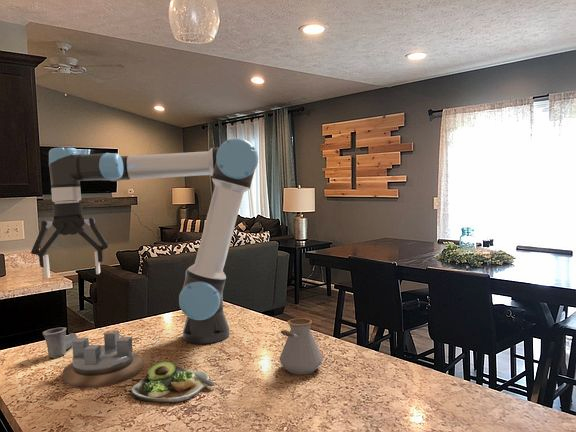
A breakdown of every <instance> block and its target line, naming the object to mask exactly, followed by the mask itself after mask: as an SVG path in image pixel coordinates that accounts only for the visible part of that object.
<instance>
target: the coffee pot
mask: <svg viewBox="0 0 576 432" xmlns="http://www.w3.org/2000/svg"><path fill="white" fill-rule="evenodd" d="M312 323H313V321H312V319H310V318H305V317H298V318H297V317H296V318H292V319H289V320H287V324H288V325H289V327H290V330H287V329H286V330H285V329H283V330H280V331H278V332H277V334H276V337H277V339H278V340H281V341H283V340H285V339H286V340H285V344H284V345H283V349H282V351H281V354H280V356H279V363H280V364H281V365H282V367H283V368H284V369H285V370H287V372H289V373H290V374H293V375H309V374H312V373H314V372H315V371H317V369H319V367H320V366H321V365H322V362H323V359H324V358H323V355H322V352H321V351H320V349H319V346H318V343H317V341H316V340H315V337H314V335H313V333H312V330H311V325H312ZM279 333H281V335H282V336H285V337H284V338H281V339H280V338H279V337H278V334H279Z"/></svg>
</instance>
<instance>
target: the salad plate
mask: <svg viewBox="0 0 576 432" xmlns="http://www.w3.org/2000/svg"><path fill="white" fill-rule="evenodd" d="M146 372H147V373H146V377H144V378H143V379H142V380H140V381H138V383H135V384H134V385H133V386H132V387H131V388H130V393H131V395H132V396H133V397H134V398H135V399H137V400H141V401H144V402H153V403H155V402H156V403H177V402H183V401H186V400H189V399H192V398H194V397H195V396H196V395H198V394H199V393H200V392H201V391H202V390H204V389H205V388H207V387H212V386H215V385H216V383H215V382H214V381H211V380H210V378H209V375H208V374H207V373H206V372H204V371H201V370H190V369H185V368H183V367H181V366H178V365H176V364H175V363H173V362H171V361H168V360H167V361H166V360H165V361H160V362H157V363H155V364H153V365H152V366H150V367H149V368H148V369H147V371H146ZM173 393H174V394H175V393H179V394H180V393H181V394H182V393H184V394H183V395H180V396H174V397H170V398H166V397H164V396H167V395H169V394H173ZM162 397H164V398H162Z"/></svg>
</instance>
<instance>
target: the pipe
mask: <svg viewBox="0 0 576 432" xmlns="http://www.w3.org/2000/svg"><path fill="white" fill-rule="evenodd" d="M42 336H43V337H44V339H45V343H46V347H47V353H48V357H49V358H51V359H56V358H60V357H62V356H64V355H65V354H66V352H67V350H69V349H70V348H71V347H72V341H74V340H75V339H77V338H78V336H77V334H76V333H74V332H72V333H69V334H68V335H67V327H55V328H50V329H47V330H44V331H42Z"/></svg>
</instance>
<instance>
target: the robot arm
mask: <svg viewBox="0 0 576 432" xmlns="http://www.w3.org/2000/svg"><path fill="white" fill-rule="evenodd" d="M258 164H259V155H258V151H257V148H256V147H255V146H254V145H253V143H251V142H250V141H249V140H246V139H244V138H239V137H233V138H229V139H227V140H225V141H224V142H222V144H221V145H220V146H219V147H211V148H210V149H209V150H208V151H193V152H173V153H171V152H170V153H159V154H156V153H153V154H141V155H139V154H138V155H137V154H136V155H123V156H122V155H120V154H119V153H117V152H115V153H113V152H112V153H111V152H105V153H104V152H103V153H91V154H89V153H88V154H79V152H78V149H77V148H75V147H54V148H51V149H50V150H49V151H48V167H49V177H50V188H51V189H50V192H51V201H52V202H53V205H52V212H53V213H52V215H53V220H52V221H51V220H42V221H41V227H40V230H39V233H38V235H37V237H36V240H35V242H34V244H33V246H32V248H31V251H30V253H31V255H37V256H38V259H39V261H38V262H39V267H40V268H43V273H44V280H47V279H49V278H51V271H50V269H51V268H50V260H49V254H46V253H47V252H48V251H49V249H50V248H51V247H52V246H53V245H54V244H55V242H56V240H57V239H58V238H59V237H60V236H61V235H63V236H67V235H73V236H74V235H77V234H78V235H79V236H81V237H82V238H83V239H84V240H85V241H86V242H88V243H89V244H90V245H91V247H93V248H94V250H96V251H94V253H93V254H94V262H95V263H94V264H95V274H96V275H100V273H101V264H100V263H102V262H104V252H103V251H104V250H106V249H108V248H109V247H110V245H109V243H108V241H107V240H106V238H105V237H104V235H103V233H102V232H101V231H100V229H99V227H98V226H97V224H96V219H95V217H93V216H92V217H89V218H86V219H85V218H84V215H83V205H82V203H81V202H80V201H82V193H81V192H82V191H81V181H82V182H85V181H110V182H119V181H128V180H143V179H144V180H146V179H147V180H148V179H161V178H177V177H178V178H179V177H194V176H195V177H196V176H197V177H198V176H211V180H212V182H213V184H214V189H213V192H212V197H211V199H210V204H209V209H208V211H207V215H206V219H205V222H204V227H203V231H202V235H201V238H200V242H199V245H198V249H197V253H196V258H195V260H194V263H193V264H192V265H190V266H189V267H187V269H186V270H185V275H184V276H185V277H184V278H185V279H184V283H183V286H182V289H181V291H180V293H179V295H178V302H179V303H178V304H179V308H180V309H181V311H182V313H183V314H184V315H185V316H186V319H185V323H184V326H183V330H182V340H183V341H184V342H186V343H190V344H198V345H199V344H202V345H203V344H212V343H217V342H221V341H224V340H225V339H227V338H228V337H229V336H230V326H229V324H228V321H227V318H226V315H225V313H224V300H223V299H224V297H223V294H224V288H225V284H226V279H227V276H226V274H225V272H224V267H225V265H226V261H227V257H228V253H229V250H230V249H229V248H230V245H231V242H232V237H233V234H234V231H235V226H236V223H237V220H238V219H237V218H238V215H239V211H240V207H241V204H242V200H243V197H244V194H245V193H246V192H248V191H249V190H250V189H251V186H252V182H253V180H254V174H255V171H256V169H257V167H258ZM85 224H87V226H89V227H90V228H91V230H92V232H93V233H94V235H95V237H96V238H97V240H98V241H96V240H95V238H94V237H92V236H91V235H90V234H89V233H88V232H87V231H86V230H85V229H84V228H83V227H84V225H85ZM52 226H53V227H54V228H55V231H54V232H53V234H52V235H51V237H50V238H49V239H48V240H47V241H46V243H45V244H44V245H43V247H42V248H41V246H42V244H43V241H44V240H45V238H46V235H47V233H48V230H49V229H50V228H51V227H52Z"/></svg>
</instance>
